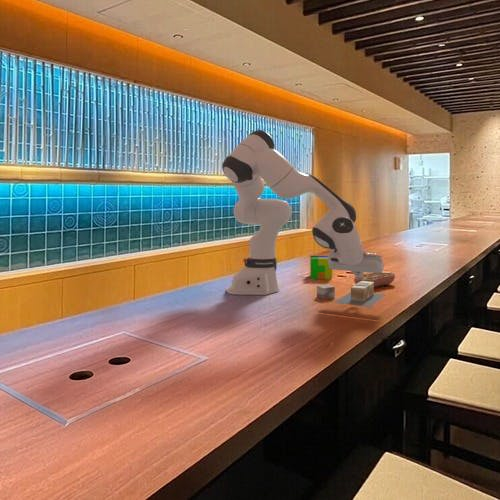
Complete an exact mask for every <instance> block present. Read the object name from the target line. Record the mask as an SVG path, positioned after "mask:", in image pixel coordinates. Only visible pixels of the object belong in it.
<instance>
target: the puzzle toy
mask: <svg viewBox="0 0 500 500" xmlns="http://www.w3.org/2000/svg"><path fill="white" fill-rule="evenodd" d="M309 264H310V268H309V270H310V272H309V273H310V275H309V276H310V280H333V269H331V268H330V267H329V264H328V255H310V263H309Z"/></svg>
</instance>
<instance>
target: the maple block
mask: <svg viewBox="0 0 500 500" xmlns="http://www.w3.org/2000/svg"><path fill="white" fill-rule="evenodd" d="M374 290H375V287H374V282H368V281H361V282H359V283H357V284H354V285H352V286H351V287H350V292H351V300H355V301H365V300H366V299H368V298H369V297H370V296H372V295H373V294H375V291H374Z"/></svg>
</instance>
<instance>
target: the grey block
mask: <svg viewBox="0 0 500 500" xmlns="http://www.w3.org/2000/svg"><path fill="white" fill-rule="evenodd" d="M335 287H336V286H334V285H330V284H321V285H319V284H318V285H316V297H317V298H318V299H320V300H331V299H335V298H336V297H335V296H336V295H335V294H336V293H335V292H336V291H335V290H336V288H335Z"/></svg>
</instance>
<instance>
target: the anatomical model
mask: <svg viewBox="0 0 500 500" xmlns="http://www.w3.org/2000/svg"><path fill="white" fill-rule="evenodd" d="M395 276H396V274H395V273H392V272H382V273H371V272H370V273H365V274H363V277H358V276H354V277H353V279H354V280H353V281H354V283H355V284H354V285H356V284H357V283H359V282H361V281H368V282H374V288H378V287H383V286H384V285H385V286H388V285H390V284H392V283H393V282H394V281H395V278H396V277H395Z"/></svg>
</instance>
